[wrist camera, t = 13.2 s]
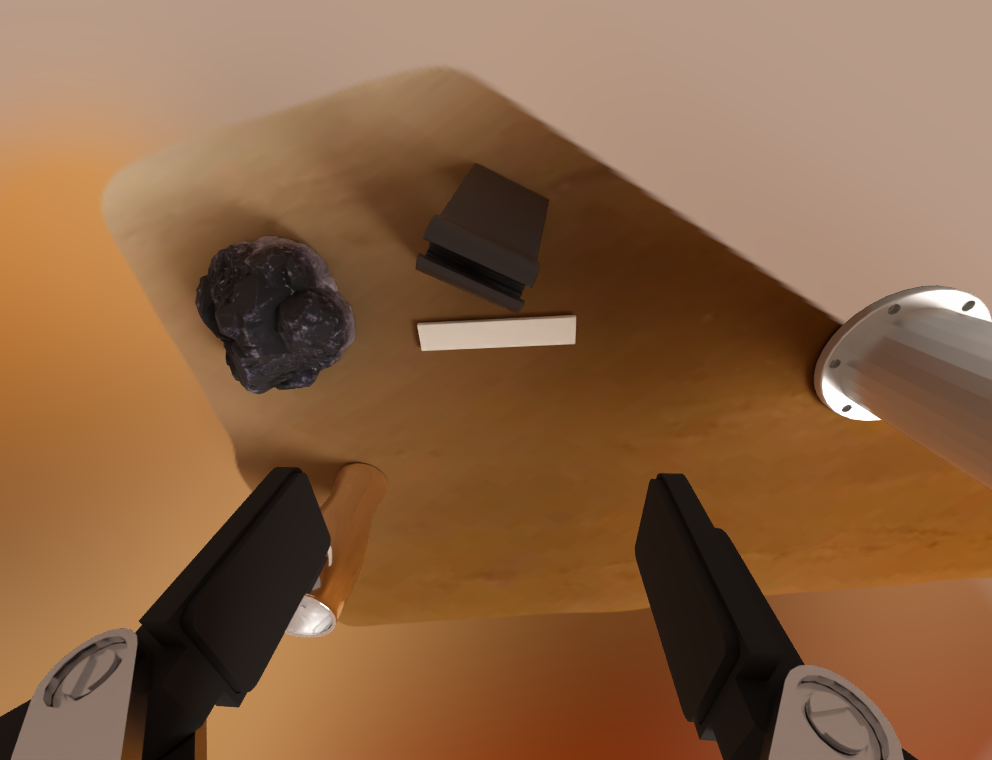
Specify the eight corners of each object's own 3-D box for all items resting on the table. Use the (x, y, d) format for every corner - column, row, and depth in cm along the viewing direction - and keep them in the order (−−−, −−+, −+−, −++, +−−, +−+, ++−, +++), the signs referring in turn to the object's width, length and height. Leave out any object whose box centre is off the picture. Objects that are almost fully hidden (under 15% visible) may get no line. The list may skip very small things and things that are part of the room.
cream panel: (575, 314, 31) (576, 317, 31) (574, 341, 32) (575, 343, 32) (418, 322, 32) (417, 325, 32) (423, 348, 33) (421, 350, 33)
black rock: (223, 348, 35) (142, 412, 27) (200, 203, 28) (79, 232, 20) (361, 378, 38) (325, 446, 29) (373, 251, 30) (329, 295, 22)
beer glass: (404, 483, 42) (355, 619, 29) (370, 511, 45) (310, 647, 31) (355, 449, 40) (277, 579, 27) (322, 480, 42) (236, 613, 29)
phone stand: (476, 162, 26) (451, 147, 16) (549, 200, 27) (571, 209, 17) (435, 276, 30) (394, 324, 20) (500, 305, 31) (493, 366, 21)
